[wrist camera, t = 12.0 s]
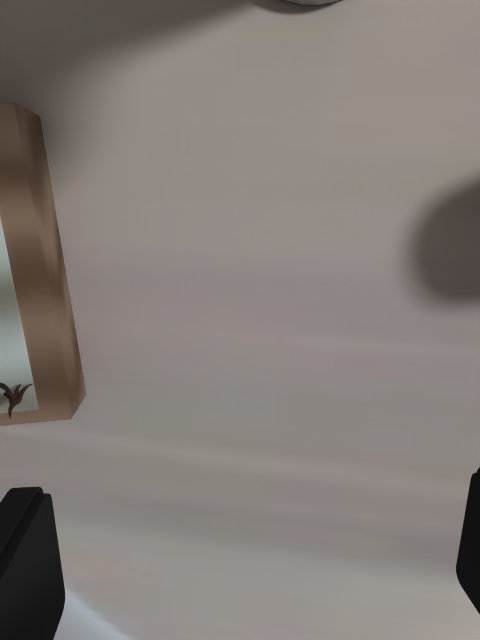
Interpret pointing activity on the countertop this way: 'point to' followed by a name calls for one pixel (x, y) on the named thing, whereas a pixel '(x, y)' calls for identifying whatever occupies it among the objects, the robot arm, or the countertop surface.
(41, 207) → the walnut plinth
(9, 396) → the decorative bird
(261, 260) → the countertop surface
